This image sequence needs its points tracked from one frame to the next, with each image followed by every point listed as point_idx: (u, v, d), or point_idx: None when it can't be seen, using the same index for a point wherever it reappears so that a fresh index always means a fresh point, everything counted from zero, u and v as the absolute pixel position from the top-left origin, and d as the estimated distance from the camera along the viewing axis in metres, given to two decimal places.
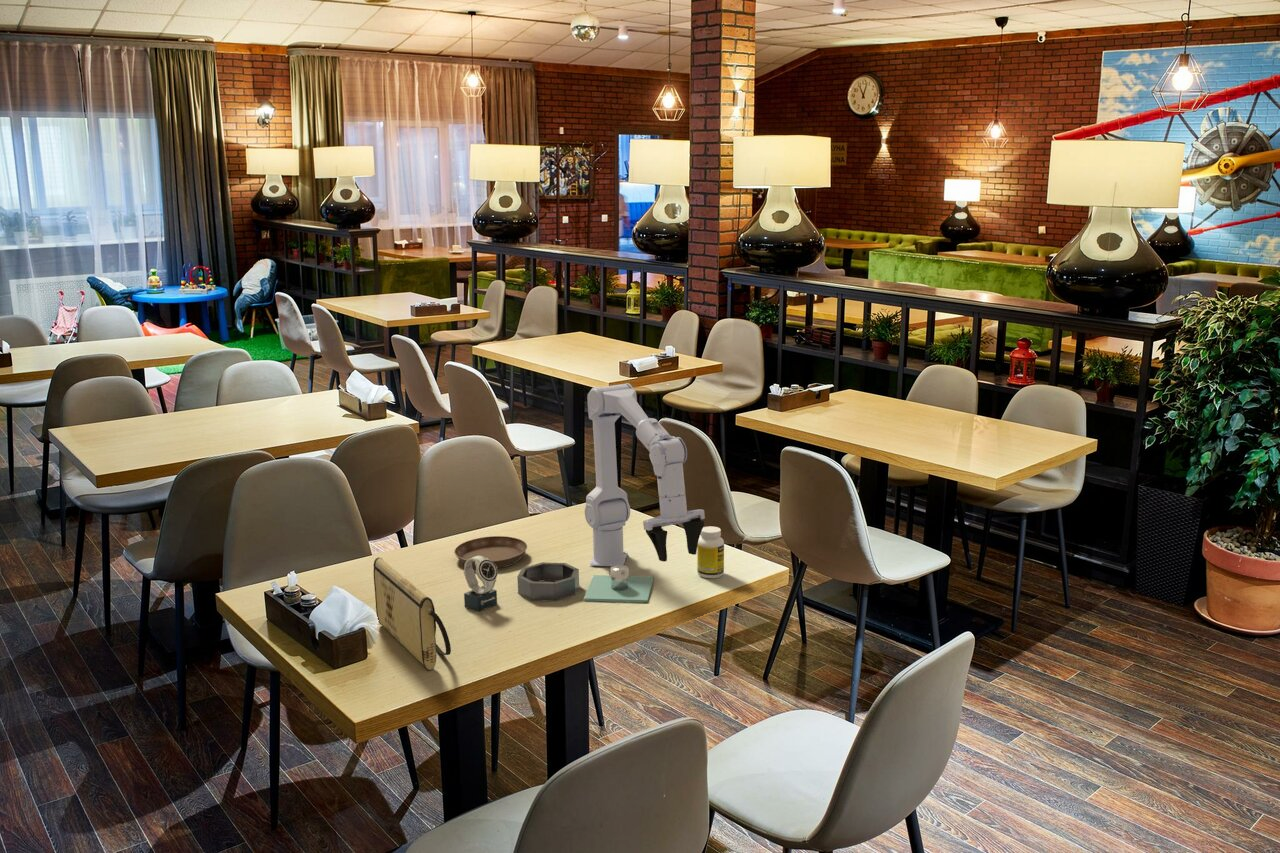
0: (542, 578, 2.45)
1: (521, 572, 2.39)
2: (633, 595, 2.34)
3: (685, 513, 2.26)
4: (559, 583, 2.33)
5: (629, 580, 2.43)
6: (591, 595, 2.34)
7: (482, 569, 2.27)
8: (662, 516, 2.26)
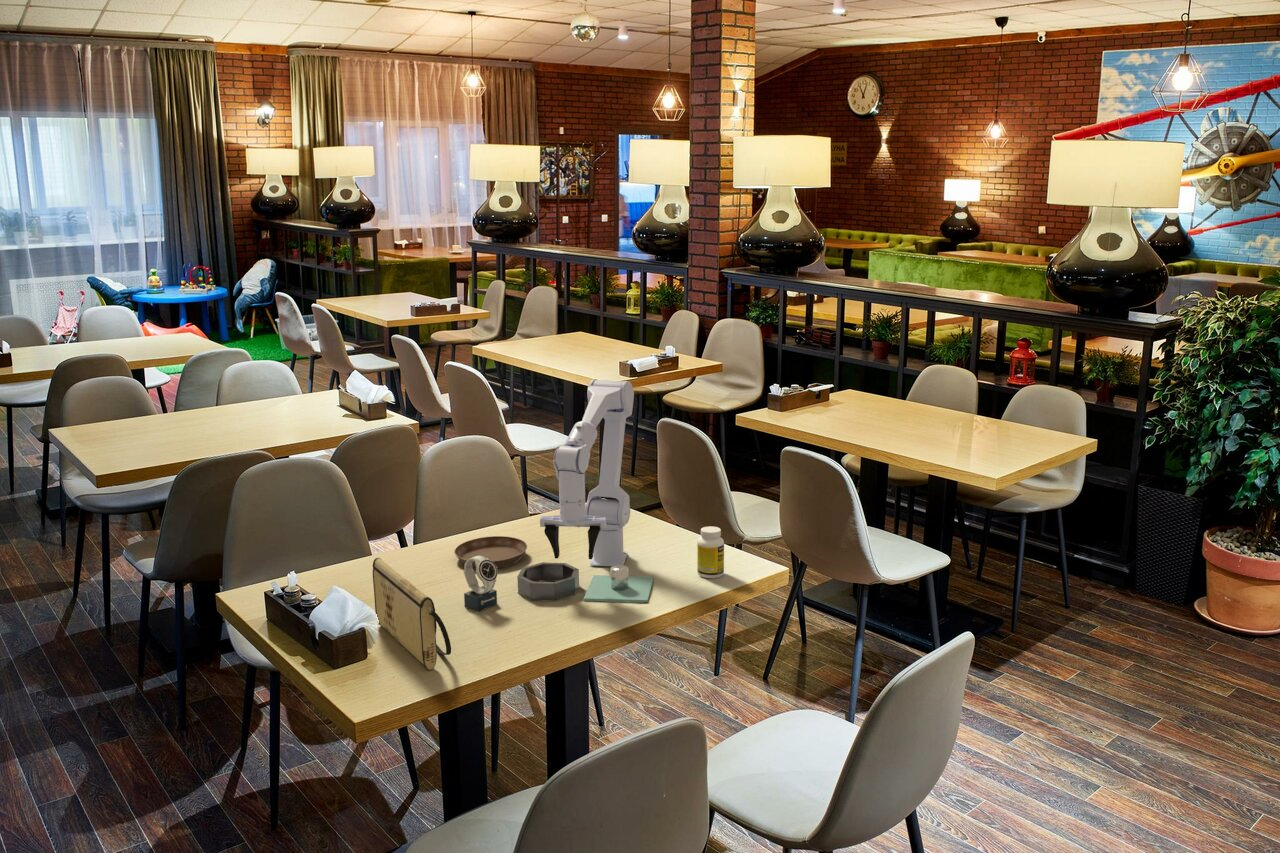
0: (542, 578, 2.45)
1: (521, 572, 2.39)
2: (633, 595, 2.34)
3: (577, 519, 2.33)
4: (559, 583, 2.33)
5: (629, 580, 2.43)
6: (591, 595, 2.34)
7: (482, 569, 2.27)
8: (560, 516, 2.36)
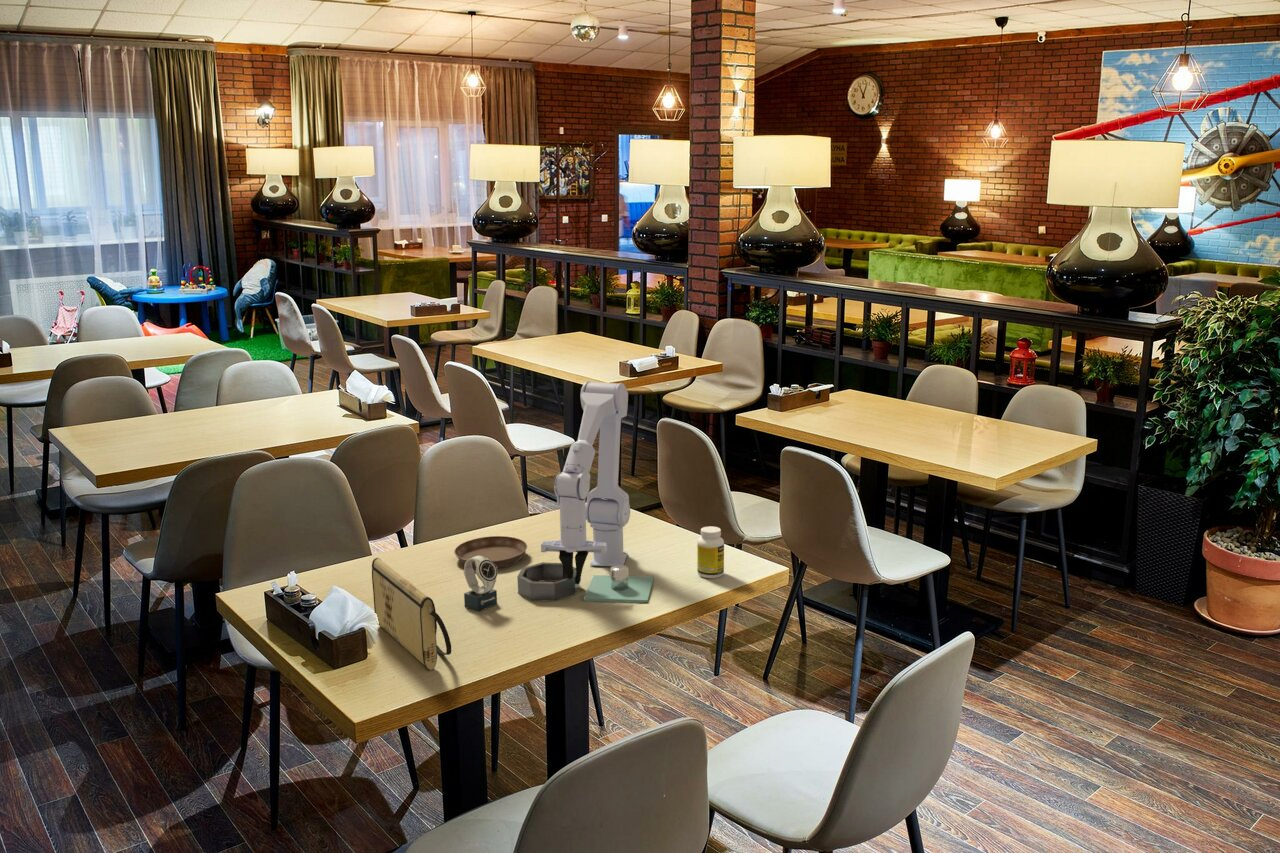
0: (542, 578, 2.45)
1: (521, 572, 2.39)
2: (633, 595, 2.34)
3: (578, 545, 2.34)
4: (559, 583, 2.33)
5: (629, 580, 2.43)
6: (591, 595, 2.34)
7: (482, 569, 2.27)
8: (561, 542, 2.37)
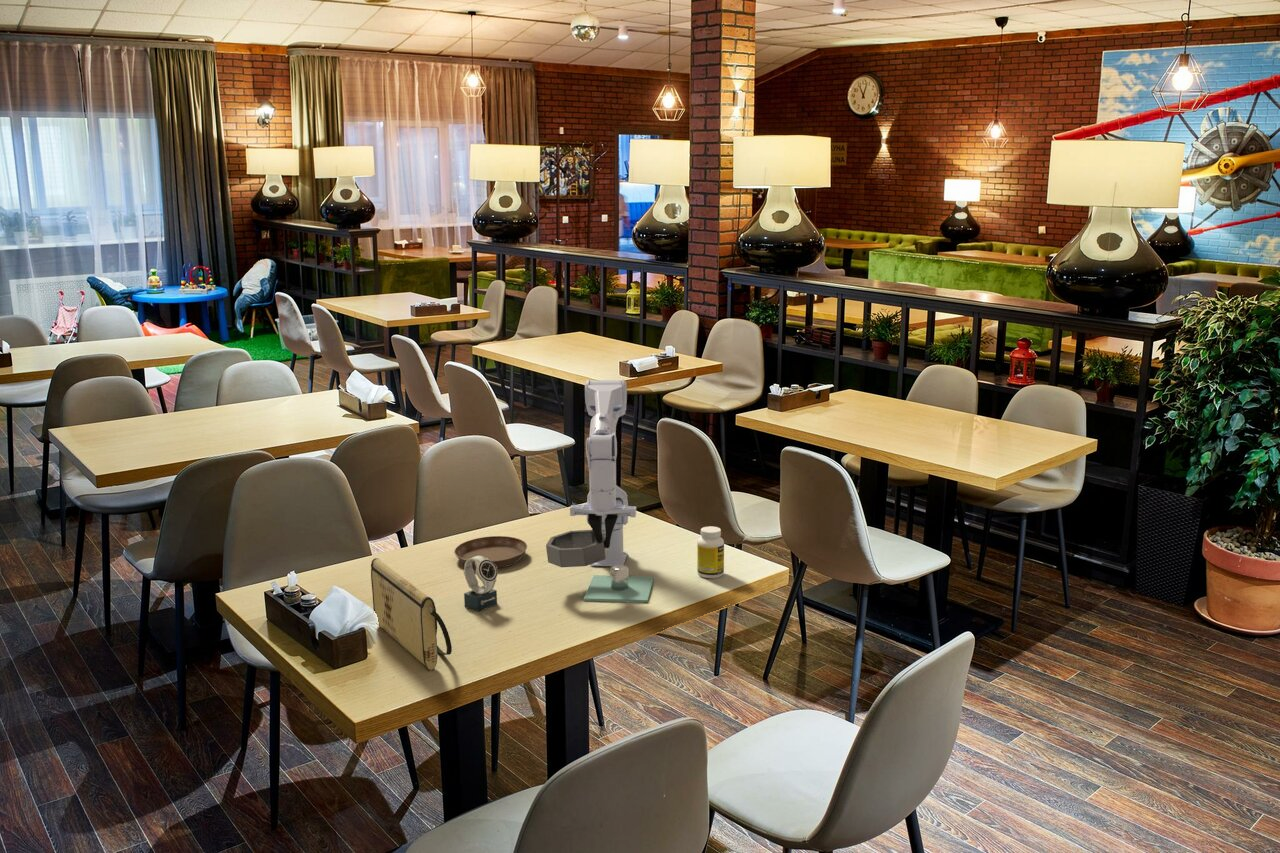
0: (571, 546, 2.43)
1: (549, 541, 2.38)
2: (633, 595, 2.34)
3: (607, 508, 2.32)
4: (588, 548, 2.31)
5: (629, 580, 2.43)
6: (591, 595, 2.34)
7: (482, 569, 2.27)
8: (590, 505, 2.35)
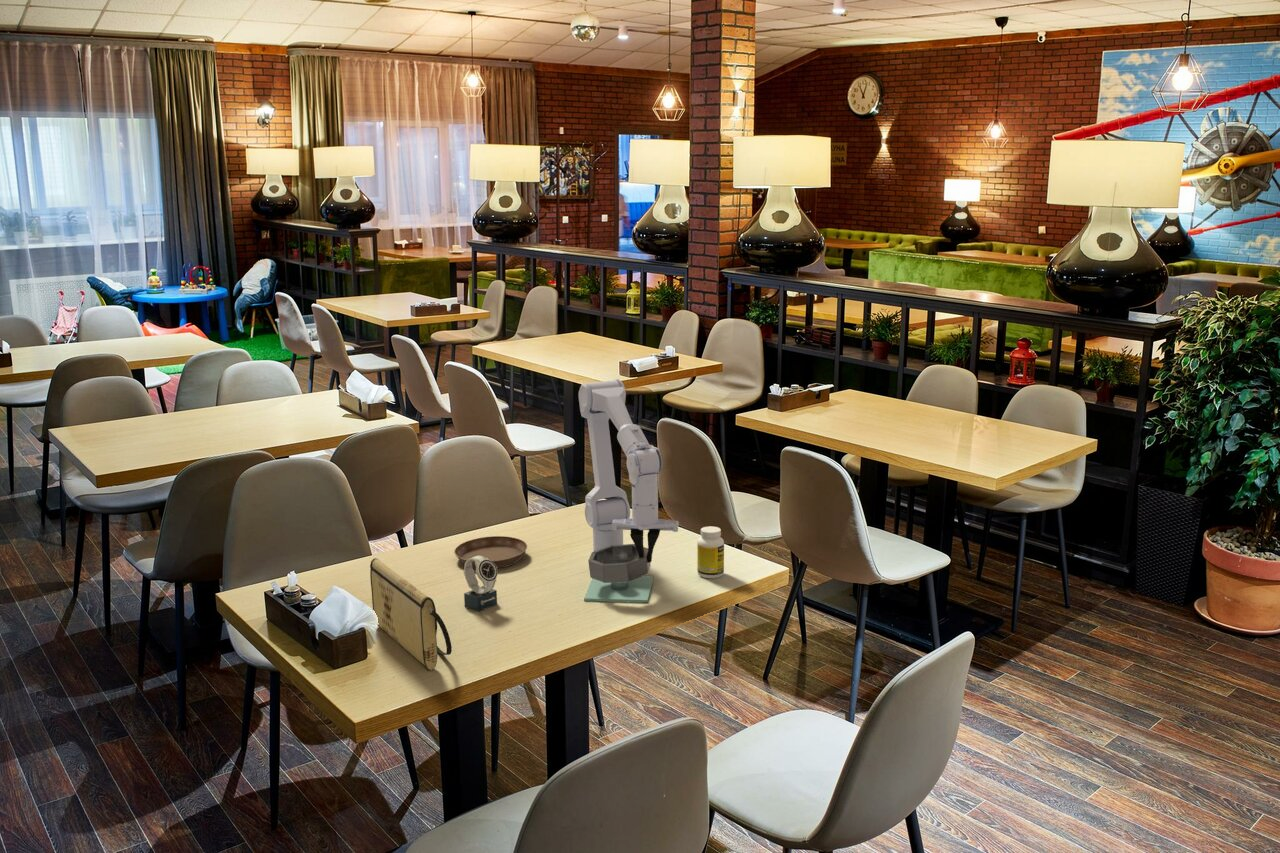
0: (612, 561, 2.43)
1: (591, 556, 2.38)
2: (633, 595, 2.34)
3: (650, 523, 2.32)
4: (631, 563, 2.31)
5: None
6: (591, 595, 2.34)
7: (482, 569, 2.27)
8: None
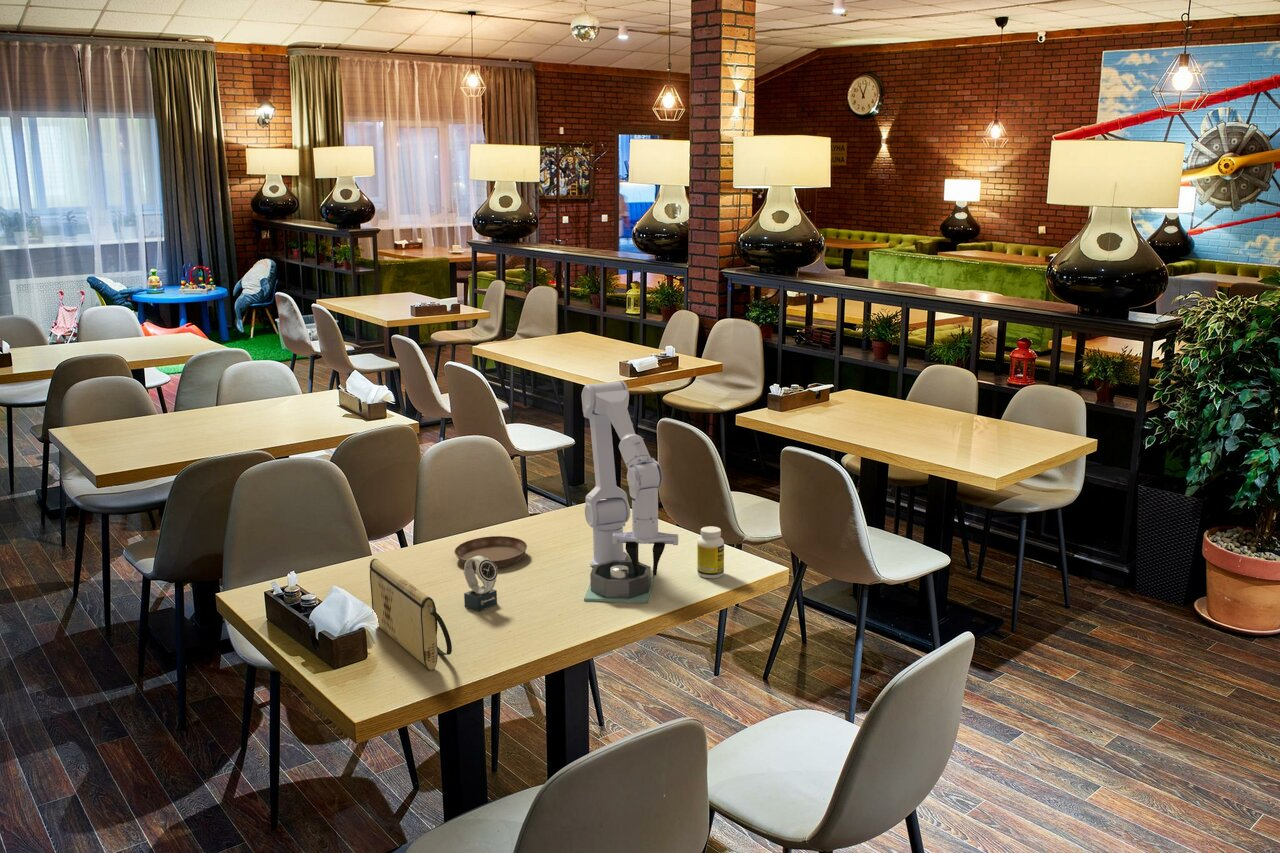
0: None
1: (593, 570, 2.38)
2: None
3: (650, 537, 2.33)
4: (633, 581, 2.32)
5: None
6: (591, 595, 2.34)
7: (482, 569, 2.27)
8: (632, 533, 2.36)
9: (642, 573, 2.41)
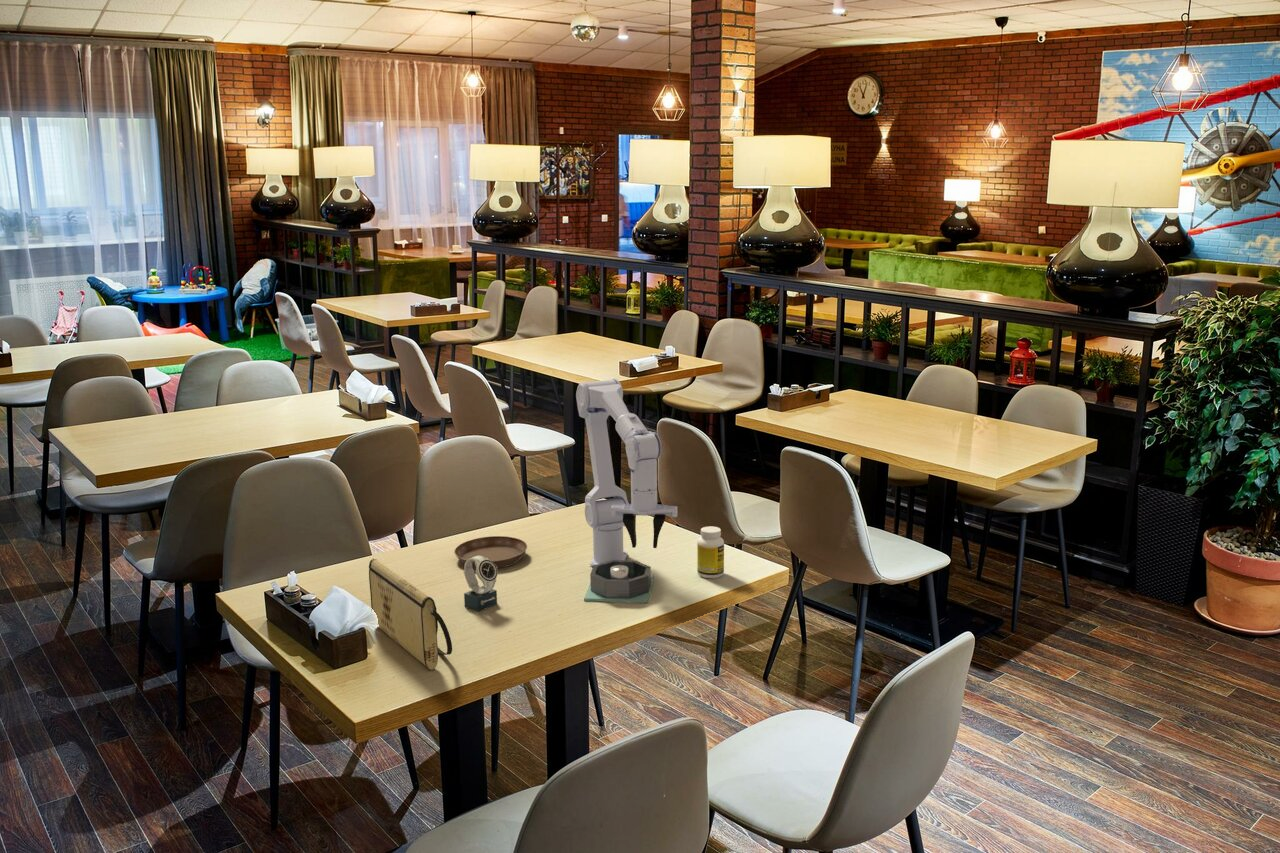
0: None
1: (593, 570, 2.38)
2: None
3: (649, 508, 2.32)
4: (633, 581, 2.32)
5: None
6: (591, 595, 2.34)
7: (482, 569, 2.27)
8: None
9: (642, 573, 2.41)
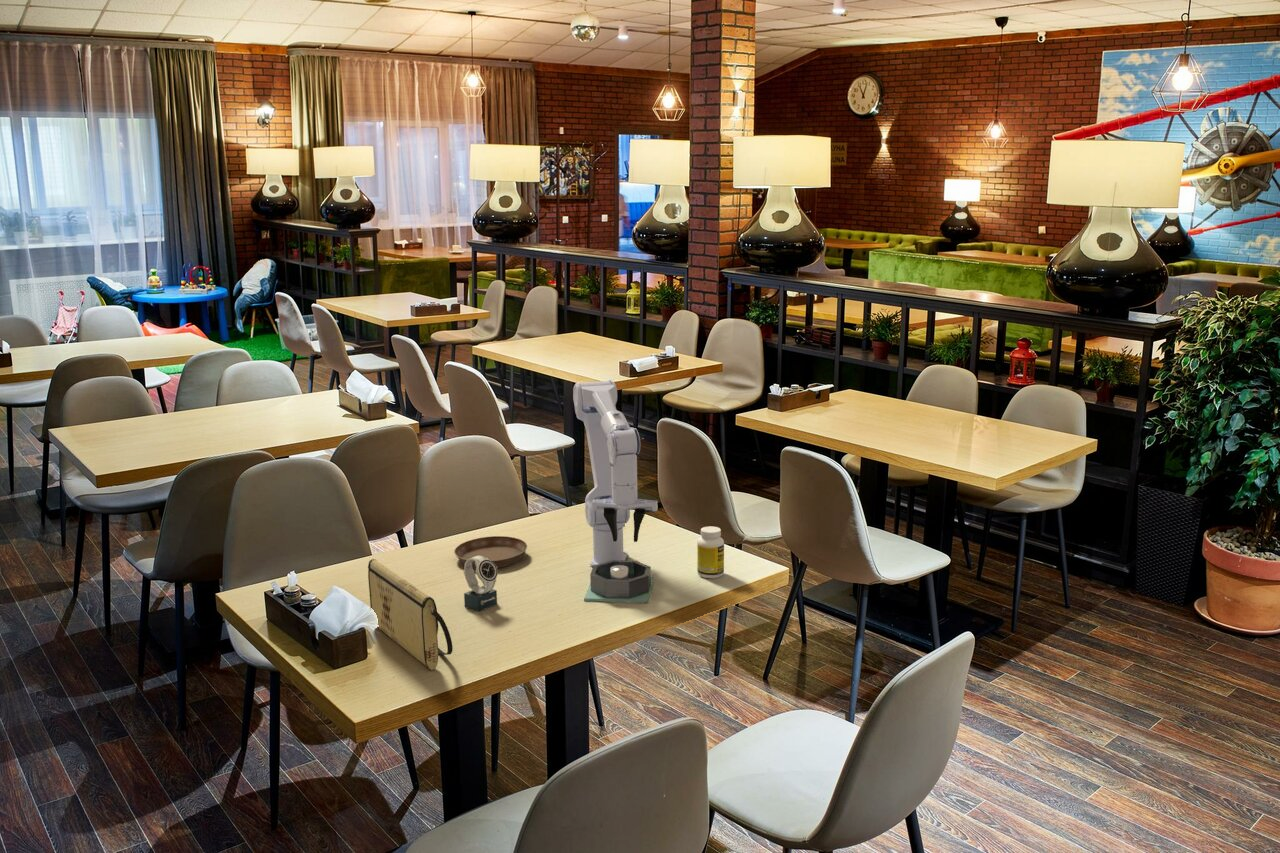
0: None
1: (593, 570, 2.38)
2: None
3: (629, 502, 2.36)
4: (633, 581, 2.32)
5: None
6: (591, 595, 2.34)
7: (482, 569, 2.27)
8: (612, 500, 2.39)
9: (642, 573, 2.41)
